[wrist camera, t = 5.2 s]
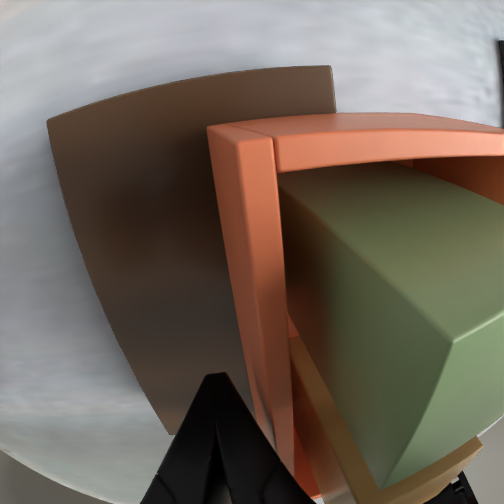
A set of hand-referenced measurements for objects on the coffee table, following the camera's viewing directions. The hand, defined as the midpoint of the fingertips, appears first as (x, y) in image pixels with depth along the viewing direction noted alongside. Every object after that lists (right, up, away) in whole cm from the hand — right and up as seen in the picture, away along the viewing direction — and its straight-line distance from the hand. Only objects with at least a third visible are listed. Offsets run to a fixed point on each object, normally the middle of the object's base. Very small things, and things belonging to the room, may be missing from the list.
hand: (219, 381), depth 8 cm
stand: (0, +3, +6) cm, 6 cm away
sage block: (+3, +4, +2) cm, 6 cm away
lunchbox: (+4, +2, +3) cm, 5 cm away
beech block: (+4, -1, +4) cm, 6 cm away
